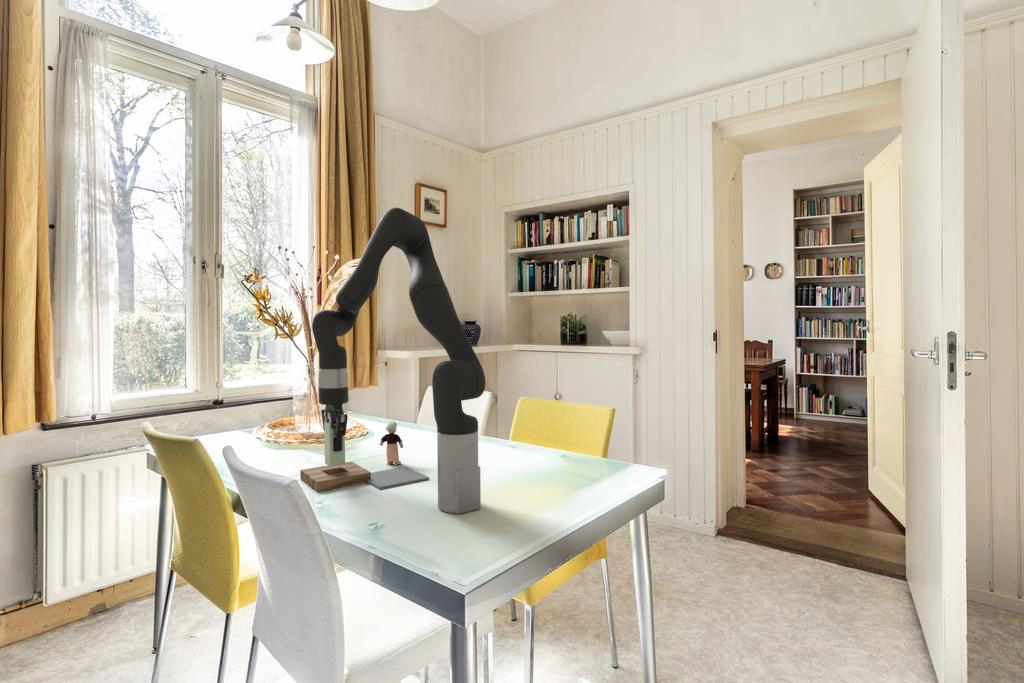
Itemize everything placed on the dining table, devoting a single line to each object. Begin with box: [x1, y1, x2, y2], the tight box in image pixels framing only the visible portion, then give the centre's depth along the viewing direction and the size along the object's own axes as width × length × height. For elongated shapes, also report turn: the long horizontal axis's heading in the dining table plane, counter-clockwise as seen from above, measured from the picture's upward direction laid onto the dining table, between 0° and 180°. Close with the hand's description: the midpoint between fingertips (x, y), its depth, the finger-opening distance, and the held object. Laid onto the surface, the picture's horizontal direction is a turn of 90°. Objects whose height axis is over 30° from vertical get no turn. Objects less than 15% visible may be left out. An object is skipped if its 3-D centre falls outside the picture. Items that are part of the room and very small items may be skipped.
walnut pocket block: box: [299, 461, 372, 493], centre depth 141 cm, size 14×14×2 cm
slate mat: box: [366, 465, 430, 490], centre depth 143 cm, size 14×14×1 cm
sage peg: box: [323, 422, 346, 466], centre depth 141 cm, size 4×4×11 cm
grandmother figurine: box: [379, 421, 404, 466], centre depth 158 cm, size 8×4×13 cm, turn 84°
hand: (334, 449), depth 141 cm, fingers closed on sage peg, 4 cm apart
